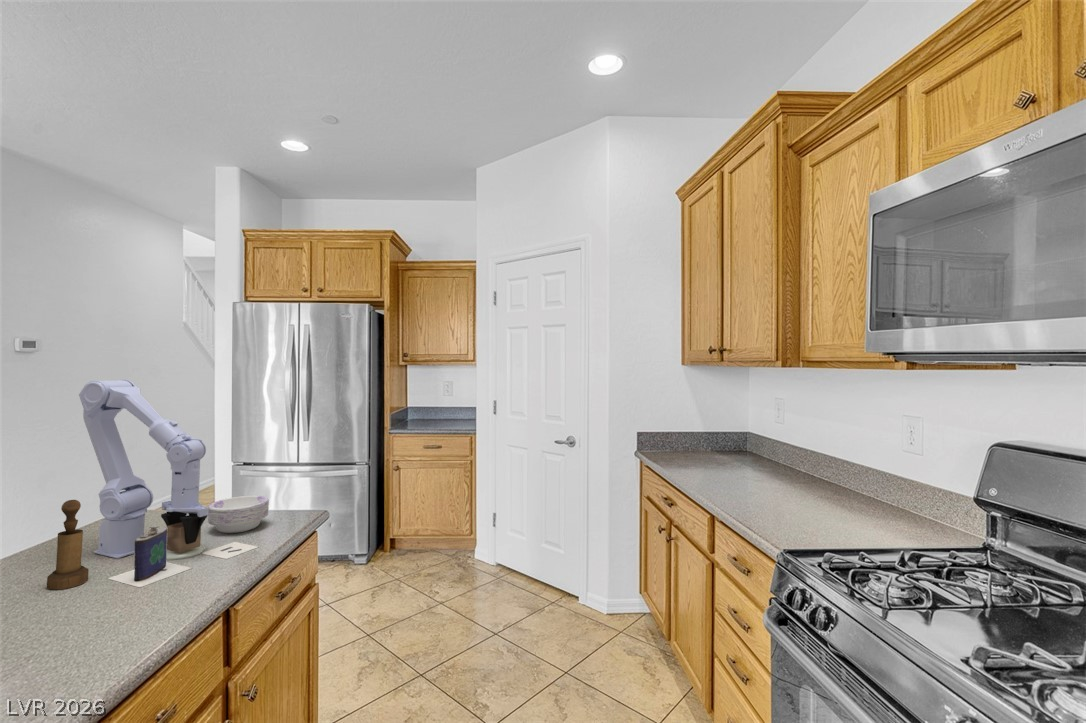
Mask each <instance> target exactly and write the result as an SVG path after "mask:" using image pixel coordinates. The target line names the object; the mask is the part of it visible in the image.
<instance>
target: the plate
mask: <svg viewBox="0 0 1086 723" xmlns="http://www.w3.org/2000/svg"><path fill="white" fill-rule="evenodd" d="M205 549H206V548H205V546H204V545H203V544H200V547H196V548H193V549H190V550H187V551H184V552H181V553H178V552H174V551H170V550H167V549H166V561H169V560H170V561H174V560H175V561H177V560H184V559H188V558H192V557H193V558H194V557H196V556H199V555H200V554H201V553H204V552H205ZM201 555H202V554H201Z"/></svg>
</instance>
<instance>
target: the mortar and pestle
mask: <svg viewBox="0 0 1086 723" xmlns="http://www.w3.org/2000/svg"><path fill="white" fill-rule="evenodd" d="M81 506H82V505H81V502H80V501H79V500H77V499H70V500H66V501H65V502H63V504H62V505H61V512H62V513H63V514H64V516H65V517H66V518H65V521H63V527H64V531H60V532H58V533H57V541H56V542H57V545H56V547H57V548H56V561H55V563H56V564H55V570H53V571H52V572H51V573H49V574H48V576H46V589H48V590H52V591H54V590H56V591H57V590H65V589H71V588H74V587H78V586H80V585H84V584H85V583H87V582H88V580H89V568H87V567H85V566H84V565H82V553H83V538H84V536H83V534H84V530H83V529H76V528H77V525H78V522H79V519H77V518H76V515H77V513H78V512H79V511H80V508H81Z"/></svg>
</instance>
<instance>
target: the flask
mask: <svg viewBox="0 0 1086 723" xmlns="http://www.w3.org/2000/svg"><path fill="white" fill-rule="evenodd" d="M149 528H150V530H148V532H147V533H146V534H145V533H144V536H140V538H137V539H136V540H135V553H134V565H133V566H134V569H135V571H134V582H135V581H142V580H145V579H148V578H150V577H152V576H153V575H155V574H156V573H158V572H159V571H161V570H162V569H163V568H165V566H166V562H167V560H166V550H167V527H159V525H158V526H156V525H151V526H149Z"/></svg>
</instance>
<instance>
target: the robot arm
mask: <svg viewBox="0 0 1086 723" xmlns="http://www.w3.org/2000/svg"><path fill="white" fill-rule="evenodd" d="M78 396H79V399H80V402H81V405H82V409H83V410H82V411H83V412H82V413H83V414H82V416H83V421H84V424H85V428H86V430H87V434H88V436H89V439H90V441H91V444H92V447H93V450H94V452H95V456H96V459H97V461H98V464H99V467H100V469H101V473H102V475H103V478H104V481H105V485H104V486H103V487H102V489H101V490H100V491H99V493H98V497H99V512H100V514H101V515H102V517H104V519H103V520H102V521H101V523H100V525H99V528H98V529H99V530H98V549H96V550H94V551H93V553H94V554H98V555H101V556H106V557H110V558H114V559H120V558H124V557H126V556H129V555H130V556H131V555H132V554H133V555H134V554H135V540H136V539H137V538H140V536H145V520H146V519H145V518H146V517H145V516H146V513H147V512H148V508H149V507H151V505H152V504H153V502H154V494H153V491H152V490H151V489H150V488H149V487H148V486H147V485H146V481H145V480H144V479H142V478H140V476H139V477H138V476H137V475H135V474H134V472H133V469H132V467H131V464H130V461H129V458H128V454H127V452H126V450H125V447H124V443H123V441H122V438H121V436H120V432H119V430H118V427H117V424H116V422H115V419H116V417H117V415H118V414H119V413H120V412H121V411H123V409H125V410H126V411H127V412H129V413H130V414H131V415H133V416H134V417H135V418H137V420H139V421H140V422H142V423H143V424H144V425H145V426H146V427H147V428H148V430H149V431H148V435H149V436H150V438H152V439H153V440H154V441H155V442H156V443H157V444H158V445H159V446H160V447H161V448H163V450H165V451H166V455H165V456H166V459H167V462H169V463H170V470H171V471H172V472H171V492H170V493H171V494H170V495H171V496H170V498H171V499H170V500H168V501H163V502H161V511H166V512H165V513H164V512H163V513H161V515H160V518H161V519H162V520H163V522H164V524H165V526H166V528H168V526H169V525H173V524H176V523H180V522H182V524H183V527H184V531H185V542H186V544H190V543H193V542H196V540H197V537H198V533H199V531H200V528H201V529H202V526H203V524H204V522H205V520H206V519H208V506H204V505H203V504H202V503H200V502H199V500H200V499H199V498H200V478H201V477H200V474H201V473H200V472H201V460H202V459H203V458H204V457H205V455H206V452H207V448H206V445H205V443H204V442H203V441H202V439H199V438H193V437H192V436H191V435H190V434H189V433H186V432H185V431H184V430H183V429H182V428H181V427H180V426H179V425H178V424H179V423H178V421H176V420H173V419H170V418H169V419H168V418H166V419H165V418H163V417H162V416H161V415H160V414H159V412H157V411H156V409H154V407H153V406H152V405H151V404H150V403H149V402H148V400H146V399H145V397H144V396H143V395H142V394H141V388H139V387H138V386H136V384H135V383H134V382H133V381H131V380H130V379H120V380H119V379H118V380H117V379H116V380H98V379H97V380H90V381H88V382H87V383H85V385H84V386H83V387H82V389H81V391H80V392H79V393H78Z"/></svg>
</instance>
